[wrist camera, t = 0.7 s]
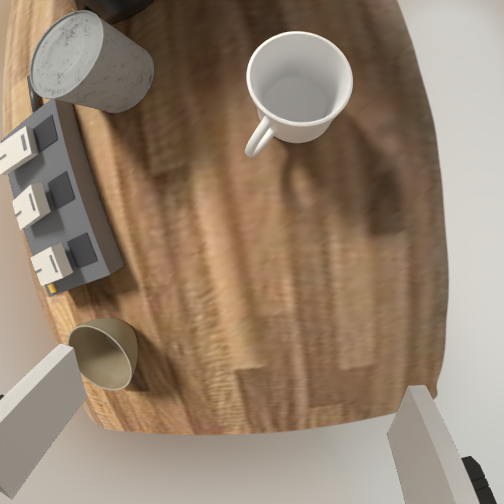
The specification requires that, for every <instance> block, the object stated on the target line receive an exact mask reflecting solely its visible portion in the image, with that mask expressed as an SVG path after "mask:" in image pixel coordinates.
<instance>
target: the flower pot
mask: <svg viewBox="0 0 504 504" xmlns="http://www.w3.org/2000/svg"><path fill="white" fill-rule="evenodd" d="M67 346H70V347H73V348H74V351H75V355H76V359H77V363H78V367H79V371H80V373H81V375H82V376H83V377H84V378H85V379H87V380H88V381H89V382H91V383H92V384H94V385H96V386H98V387H100V388H102V389H106V390H111V391H116V390H121V389H123V388H125V387H126V386H127V385H128V384H129V383H130V381H131V379H132V377H133V374H134V371H135V368H136V364H137V358H138V344H137V338H136V335H135V332H134V330H133V329H132V328H131V326H130V325H129V324H127V323H126V322H124V321H122V320H119V319H113V318H101V319H95V320H91V321H88V322H85V323H83V324H81V325H79V326H77V327H75V328H74V329H73V330H72V331H71V332H70V334H69V336H68V341H67Z"/></svg>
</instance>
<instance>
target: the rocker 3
mask: <svg viewBox="0 0 504 504" xmlns="http://www.w3.org/2000/svg"><path fill="white" fill-rule="evenodd" d="M31 261H32V263H33V266H34V269H35V272H36V274H37V276H38V279H39V281H40V283H41V286H43V285H45V284H48V283H51V282H53V281H56V280H59V279H61V278H64V277H66V276H68V275H69V274H71V273H73V271H72V268H71V266H70V263H69V261H68V258H67V256H66V253H65V251H64V248H63V245H62V243H58V244H56V245H53V246H51V247H49V248H47V249H46V250H44V251H42V252H40V253H38V254H37V255H35V256H33V257H31Z"/></svg>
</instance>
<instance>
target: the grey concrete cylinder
mask: <svg viewBox="0 0 504 504" xmlns="http://www.w3.org/2000/svg"><path fill="white" fill-rule="evenodd" d="M153 77H154V63H153V60H152V57H151V55H150V54H149V53H148V52H147V50H145V49H144V48H142V47H141V46H139V45H137V44H136V43H135V42H133V41H132V40H131V39H129V38H128V37H126V36H125V35H124V34H122V33H121V32H119V31H118V30H117V29H115V28H114V27H112V26H111V25H109V24H108V23H107V22H105V21H104V20H102V19H101V18H99V16H98V15H97V14H95V13H93V12H91V11H86V10H80V11H74V12H72V13H69V14H67V15H65V16H63V17H62V18H60V19H58V20H57V21H56V22H55V23H54V24H53V25H51V26H50V28H49V29H48V30H47V31H46V32H45V33H44V35H43V36H42V38H41V39H40V41H39V42H38V44H37V46H36V48H35V50H34V53H33V56H32V59H31V64H30V81H31V85H32V87H33V89H34V91H35V92H36V93H37V94H38V95H39V96H41V97H43V98H46V99H55V100H60V101H64V102H69V103H73V104H78V105H82V106H86V107H91V108H95V109H99V110H103V111H105V112H108V113H119V112H123V111H126V110H129V109H130V108H132V107H133V106H135V105H136V104H137V103H138V102H140V101H141V100H142V99H143V97H144V96H145V95H146V93H147V92H148V90H149V88H150V86H151V84H152V81H153Z"/></svg>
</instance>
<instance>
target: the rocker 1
mask: <svg viewBox="0 0 504 504" xmlns="http://www.w3.org/2000/svg"><path fill="white" fill-rule="evenodd" d="M37 155H39V154H38V150H37V146H36V142H35V137H34V133H33V128H31V127H27V126H25V127H23V128H22V129H20V130H19V131H18V132H16V133H15V134H13V135H12V136H10V137H9V138H8V139H6V140H5V141H3V142H2V143H1V144H0V174H1V175H2V174H3V175H7V174H9V173H11V172H12V171H14V170H15V169H17V168H18V167H20V166H21V165H23V164H24V163H26V162H27V161H29V160H31V159H32V158H34V157H35V156H37Z"/></svg>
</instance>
